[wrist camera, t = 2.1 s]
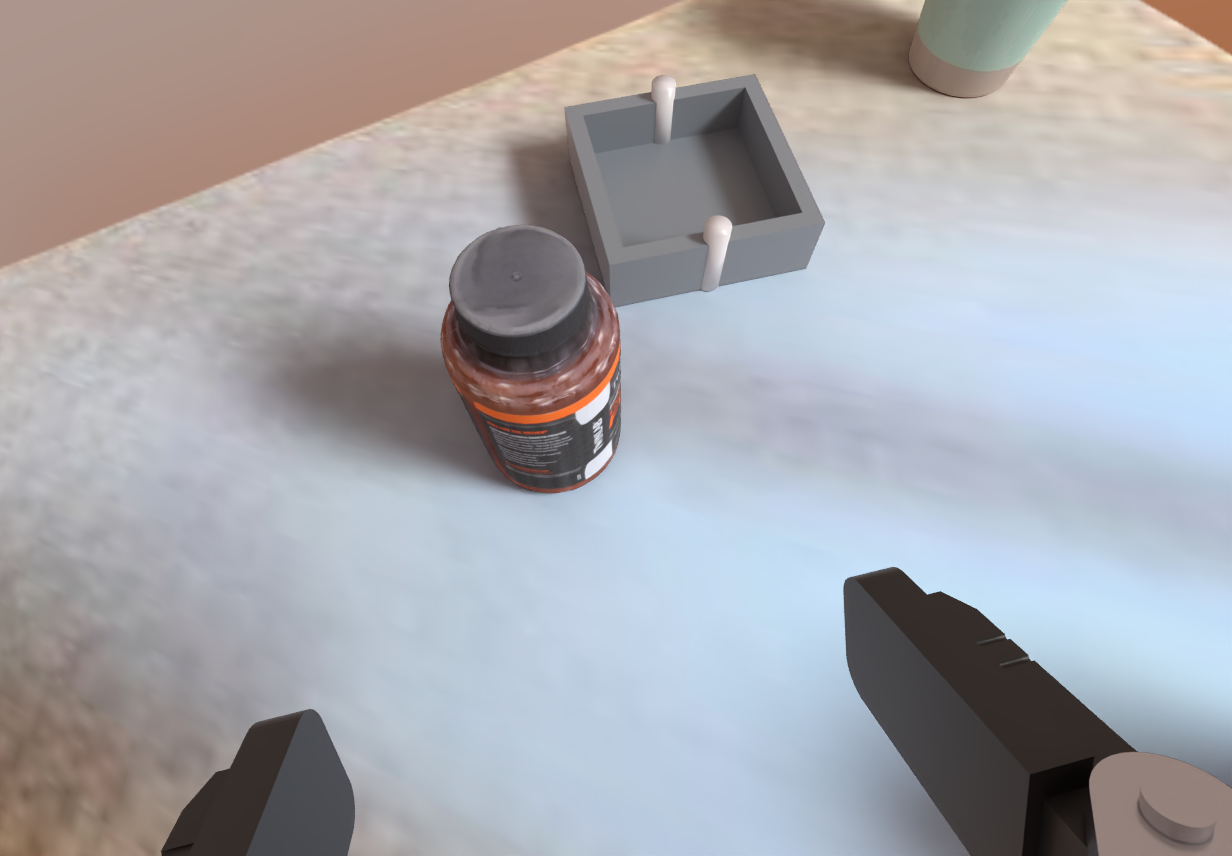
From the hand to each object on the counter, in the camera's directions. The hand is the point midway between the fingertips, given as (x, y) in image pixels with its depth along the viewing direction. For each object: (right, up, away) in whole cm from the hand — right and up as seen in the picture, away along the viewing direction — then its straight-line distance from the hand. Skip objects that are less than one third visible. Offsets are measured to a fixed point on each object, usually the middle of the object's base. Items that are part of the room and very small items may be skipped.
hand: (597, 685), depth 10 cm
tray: (+4, +15, +24) cm, 29 cm away
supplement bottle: (-2, +4, +19) cm, 20 cm away
